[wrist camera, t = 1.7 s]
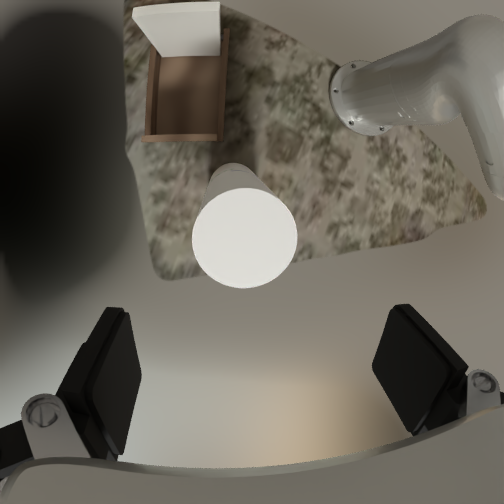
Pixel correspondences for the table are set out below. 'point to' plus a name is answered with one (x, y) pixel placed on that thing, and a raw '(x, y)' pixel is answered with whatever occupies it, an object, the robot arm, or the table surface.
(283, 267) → the cylindrical container
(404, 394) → the robot arm
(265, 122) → the table surface
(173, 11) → the block
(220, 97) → the brown wooden tray
